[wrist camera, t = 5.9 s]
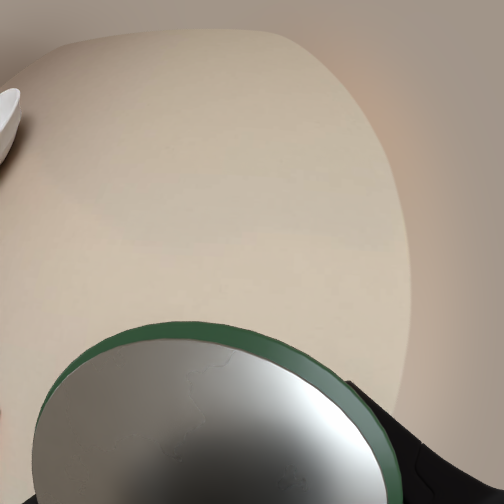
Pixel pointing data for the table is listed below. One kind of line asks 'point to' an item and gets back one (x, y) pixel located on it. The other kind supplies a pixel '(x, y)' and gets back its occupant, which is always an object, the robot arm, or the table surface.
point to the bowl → (8, 119)
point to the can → (207, 425)
